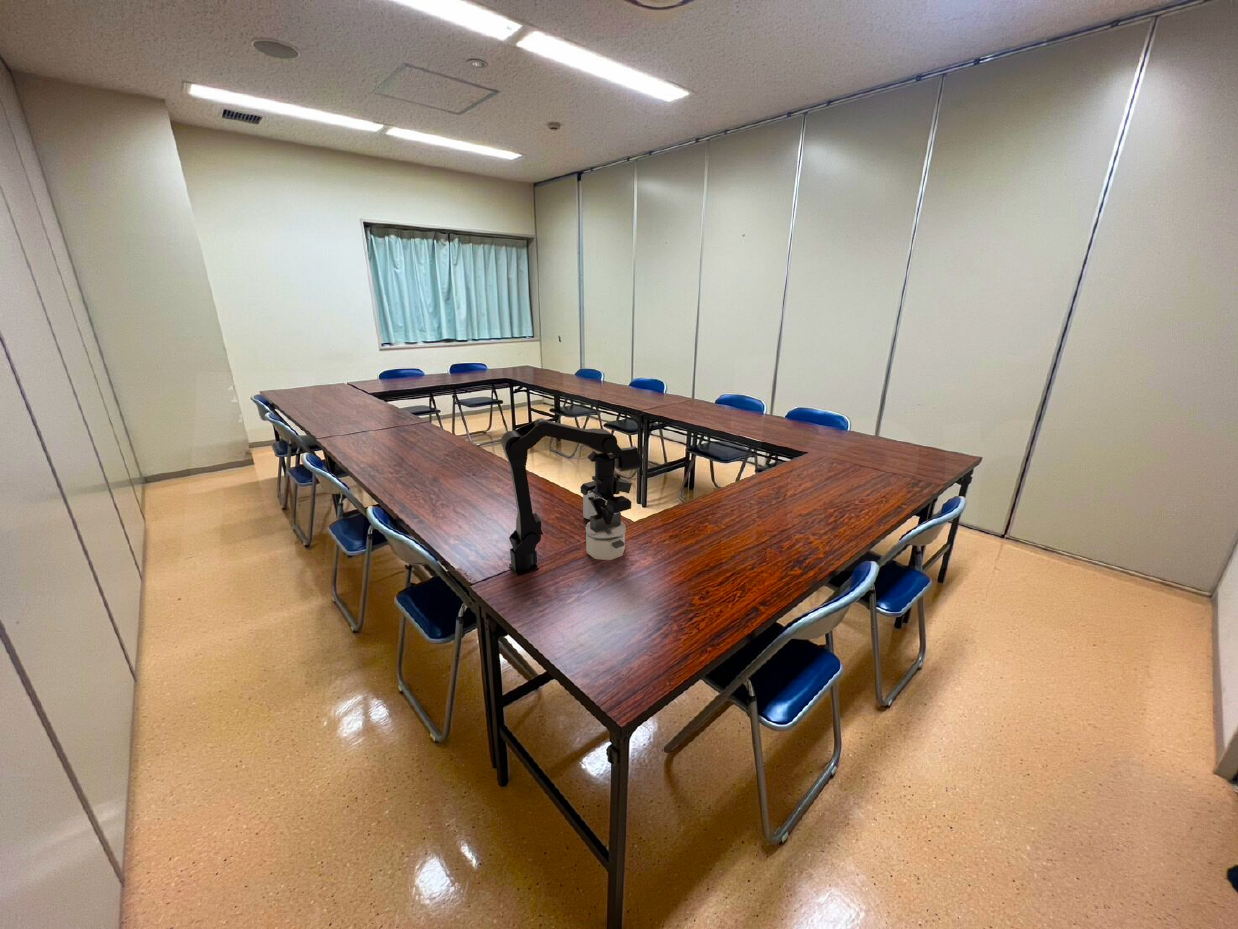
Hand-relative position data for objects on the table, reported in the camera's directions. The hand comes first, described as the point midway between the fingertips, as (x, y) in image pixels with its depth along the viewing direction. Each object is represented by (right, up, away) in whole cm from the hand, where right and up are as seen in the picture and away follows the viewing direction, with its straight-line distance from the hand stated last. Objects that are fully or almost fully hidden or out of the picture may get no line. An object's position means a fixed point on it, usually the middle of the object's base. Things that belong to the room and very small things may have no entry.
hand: (605, 522), depth 141 cm
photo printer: (-3, -2, +23) cm, 24 cm away
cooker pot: (0, -9, +3) cm, 9 cm away
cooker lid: (0, -2, +1) cm, 2 cm away
